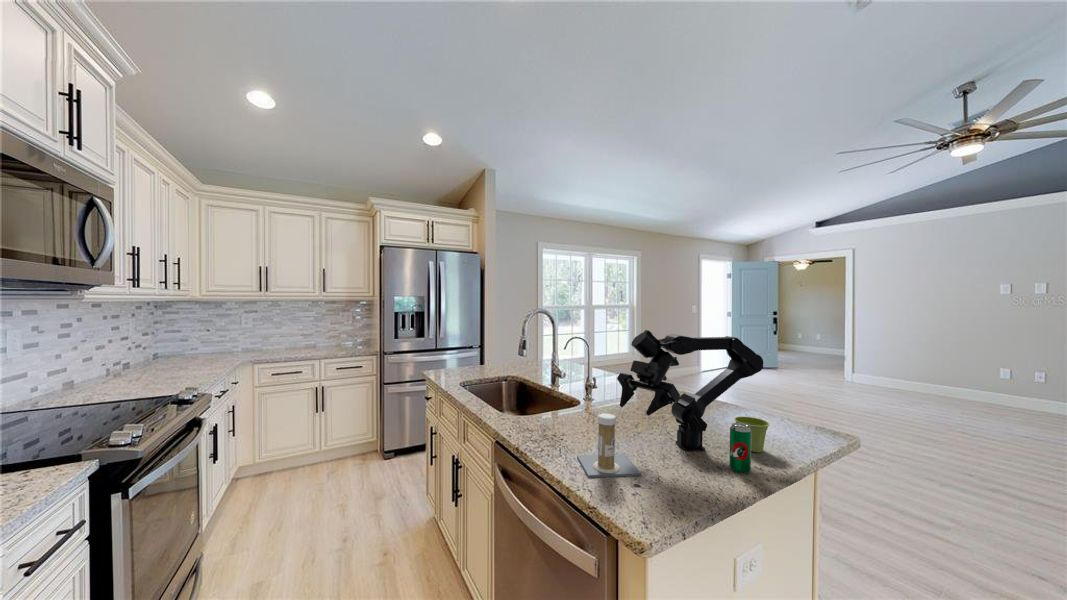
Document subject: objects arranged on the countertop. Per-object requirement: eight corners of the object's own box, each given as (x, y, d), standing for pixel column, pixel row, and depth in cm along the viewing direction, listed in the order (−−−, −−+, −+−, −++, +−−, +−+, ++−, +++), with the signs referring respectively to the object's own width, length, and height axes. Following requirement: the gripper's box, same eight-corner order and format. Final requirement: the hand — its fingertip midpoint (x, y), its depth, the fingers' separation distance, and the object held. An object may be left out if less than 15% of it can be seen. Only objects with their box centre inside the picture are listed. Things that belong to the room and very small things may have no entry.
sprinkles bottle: (613, 471, 95) (614, 419, 95) (595, 468, 97) (596, 416, 97) (615, 463, 100) (616, 414, 99) (599, 461, 101) (600, 411, 101)
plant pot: (726, 445, 116) (727, 417, 116) (747, 441, 120) (748, 414, 120) (754, 457, 108) (755, 427, 108) (776, 452, 111) (776, 423, 111)
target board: (624, 455, 107) (624, 452, 107) (641, 475, 95) (641, 472, 95) (577, 457, 105) (577, 454, 105) (588, 477, 93) (588, 474, 93)
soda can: (755, 473, 97) (756, 428, 97) (738, 474, 96) (738, 429, 96) (741, 465, 102) (742, 421, 102) (724, 466, 101) (725, 422, 101)
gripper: (621, 346, 116) (595, 386, 109) (675, 354, 101) (649, 401, 95) (636, 369, 121) (613, 408, 114) (690, 380, 106) (666, 426, 99)
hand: (633, 410), depth 105 cm, fingers open, 9 cm apart
